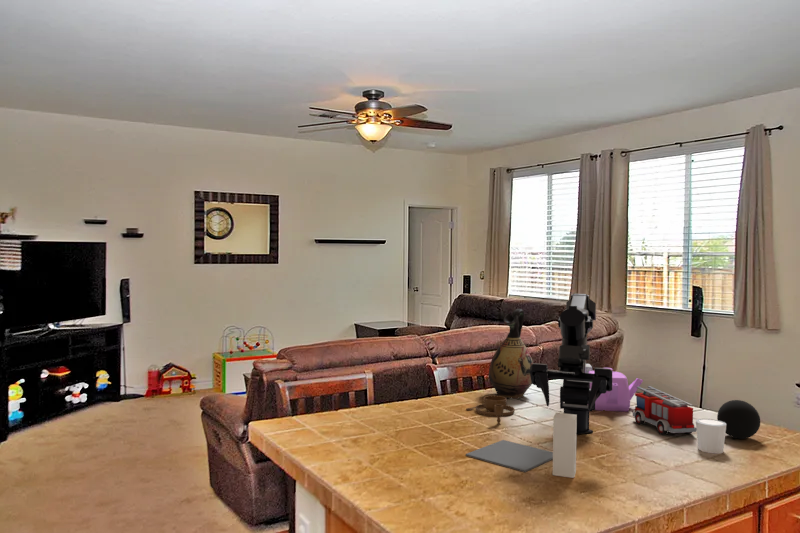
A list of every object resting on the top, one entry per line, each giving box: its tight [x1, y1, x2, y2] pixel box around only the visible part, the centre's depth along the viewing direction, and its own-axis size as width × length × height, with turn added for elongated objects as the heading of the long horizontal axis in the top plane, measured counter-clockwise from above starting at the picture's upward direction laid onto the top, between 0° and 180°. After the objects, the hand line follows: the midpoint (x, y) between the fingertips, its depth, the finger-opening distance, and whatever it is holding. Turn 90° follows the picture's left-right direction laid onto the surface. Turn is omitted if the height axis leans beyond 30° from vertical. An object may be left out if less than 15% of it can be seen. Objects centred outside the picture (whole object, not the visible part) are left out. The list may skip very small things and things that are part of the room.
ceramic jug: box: [488, 308, 534, 399], centre depth 208 cm, size 17×15×30 cm
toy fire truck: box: [632, 385, 697, 436], centre depth 168 cm, size 9×19×10 cm, turn 11°
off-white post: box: [552, 412, 577, 479], centre depth 131 cm, size 4×4×12 cm
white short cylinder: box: [695, 418, 726, 454], centre depth 149 cm, size 7×7×7 cm
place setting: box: [465, 395, 515, 426], centre depth 181 cm, size 18×20×6 cm
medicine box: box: [585, 363, 593, 373], centre depth 221 cm, size 8×4×9 cm, turn 168°
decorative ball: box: [716, 399, 761, 440], centre depth 160 cm, size 10×10×10 cm
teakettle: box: [589, 367, 644, 412], centre depth 194 cm, size 17×17×12 cm
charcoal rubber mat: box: [465, 439, 553, 473], centre depth 143 cm, size 16×16×1 cm
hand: (568, 407), depth 138 cm, fingers open, 9 cm apart
